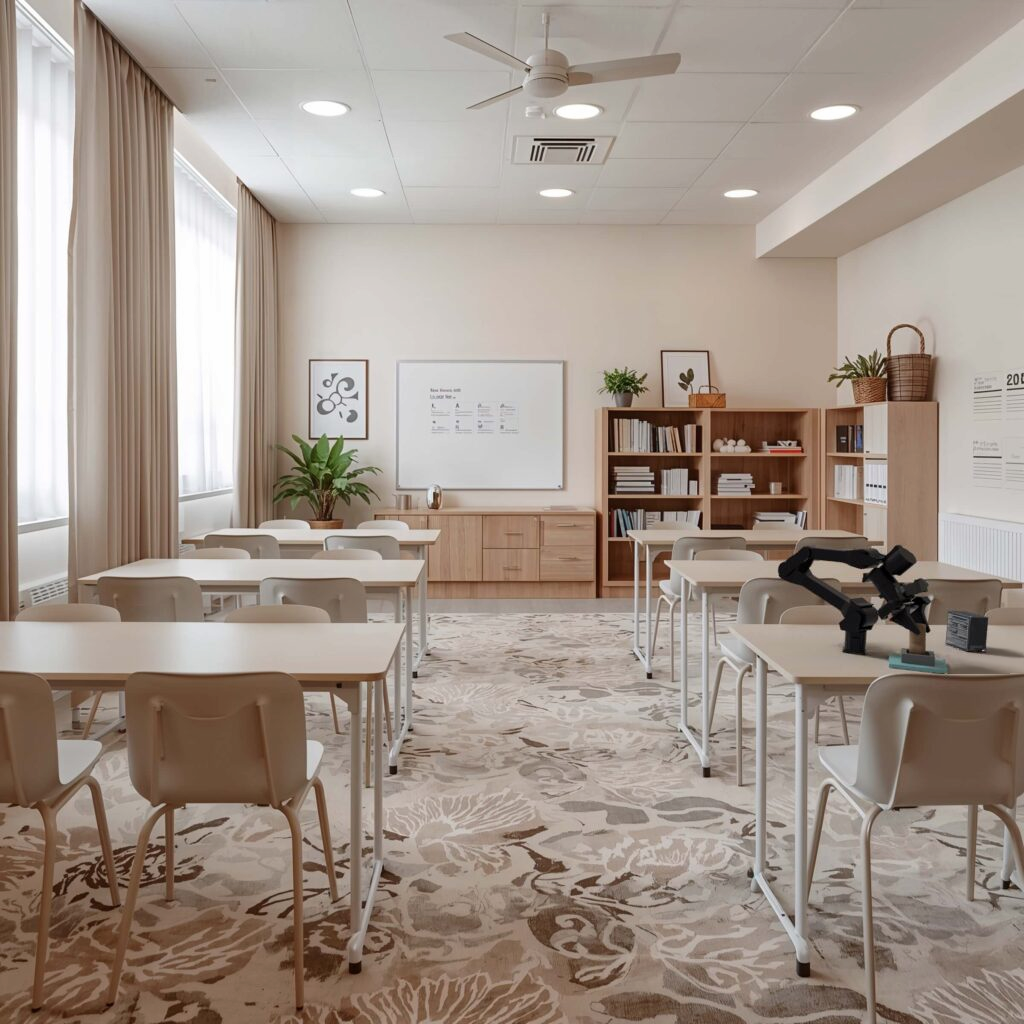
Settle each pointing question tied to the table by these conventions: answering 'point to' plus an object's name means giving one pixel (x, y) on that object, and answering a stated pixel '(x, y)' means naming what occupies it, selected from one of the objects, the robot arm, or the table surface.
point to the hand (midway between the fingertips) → (924, 633)
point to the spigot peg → (918, 641)
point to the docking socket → (917, 662)
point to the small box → (966, 630)
